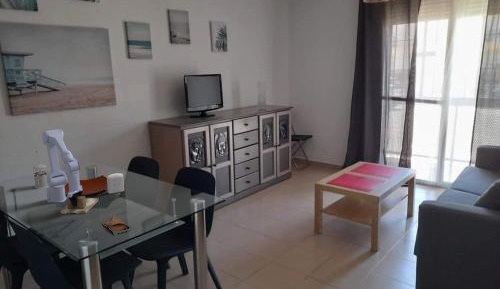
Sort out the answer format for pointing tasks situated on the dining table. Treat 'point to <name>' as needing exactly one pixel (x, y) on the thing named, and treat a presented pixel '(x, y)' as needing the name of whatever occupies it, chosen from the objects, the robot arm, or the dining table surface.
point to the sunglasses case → (116, 224)
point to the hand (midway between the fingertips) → (76, 204)
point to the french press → (40, 176)
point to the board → (89, 204)
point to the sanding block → (80, 203)
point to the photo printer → (115, 183)
